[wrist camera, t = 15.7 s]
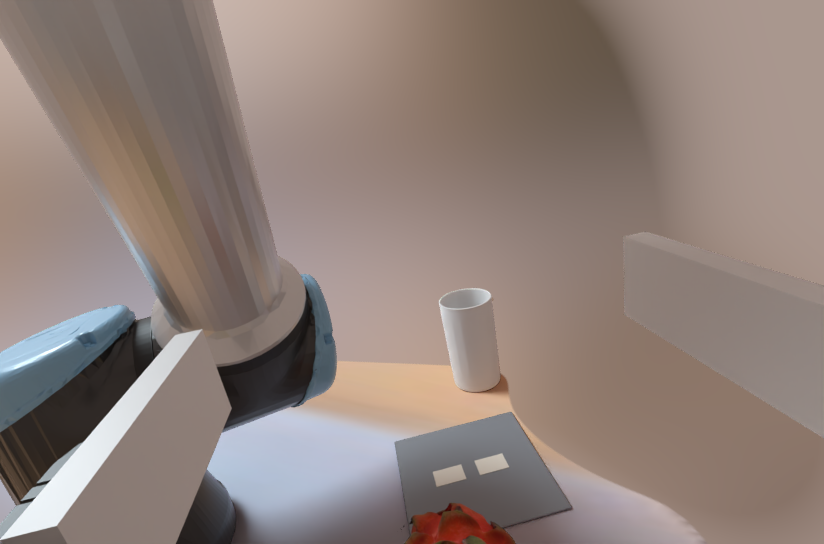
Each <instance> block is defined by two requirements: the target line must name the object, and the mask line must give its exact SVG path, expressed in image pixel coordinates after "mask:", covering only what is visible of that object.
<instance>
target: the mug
mask: <svg viewBox="0 0 824 544" xmlns="http://www.w3.org/2000/svg"><path fill="white" fill-rule="evenodd" d="M439 306H440V311H441V317H442V322H443V326H444V332H445V337H446V342H447V347H448V352H449V357H450V362H451V367H452V371H453V376H454V381H455V384H456V385H457V387H458V388H460V389H462V390H464V391H468V392H482V391H486V390H489V389H491V388H493V387H494V386H496V385H497V384H498V383H499V381H500V367H499V358H498V349H497V340H496V331H495V322H494V314H493V305H492V298H491V293H490V292H489V291H486V290H484V289H478V288H468V289H461V290H456V291H452V292H450V293H447V294H445V295H444V296H442V298H440V300H439Z"/></svg>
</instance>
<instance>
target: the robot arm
mask: <svg viewBox="0 0 824 544" xmlns="http://www.w3.org/2000/svg"><path fill="white" fill-rule="evenodd" d="M0 39H1V40H2V42H3V44H4V45H5V47H6V49H7V50H8V52H9V53H10V55H11V57H12V59H13V60H14V62H15V63H16V65H17V66H18V68H19V70H20V72H21V73H22V75H23V76H24V78H25V80H26V82H27V83H28V85H29V87H30V88H31V90H32V91H33V93H34V95H35V96H36V98H37V100H38V101H39V103H40V104H41V106H42V108H43V110H44V111H45V113H46V114H47V116H48V118H49V119H50V121H51V123H52V124H53V126H54V128H55V129H56V131H57V133H58V134H59V136H60V138H61V139H62V141H63V142H64V144H65V146H66V147H67V149H68V151H69V152H70V154H71V156H72V157H73V159H74V161H75V162H76V164H77V166H78V167H79V169H80V170H81V172H82V173H83V175H84V177H85V179H86V180H87V182H88V184H89V185H90V187H91V189H92V190H93V192H94V194H95V195H96V197H97V198H98V200H99V202H100V203H101V205H102V207H103V208H104V210H105V211H106V213H107V215H108V216H109V218H110V220H111V222H112V223H113V225H114V226H115V228H116V230H117V231H118V233H119V235H120V236H121V238H122V240H123V241H124V243H125V245H126V246H127V248H128V249H129V251H130V253H131V254H132V256H133V257H134V259H135V261H136V263H137V264H138V266H139V268H140V269H141V271H142V272H143V274H144V276H145V277H146V279H147V281H148V282H149V284H150V286H151V287H152V289H153V291H154V292H155V294H156V296H157V299H156V301H155V303H154V306H153V309H152V315H151V317H147V318H144V319H140V320H136V319H135V318H136V316H135V314H134V312H132V311H130V310H129V308H128V307H127V306H124V305H114V306H112V307H104V308H100V309H97V310H94V311H90V312H88V313H85V314H82V315H79V316H77V317H74V318H72V319H69V320H67V321H64V322H62V323H59V324H57V325H55V326H53V327H50V328H48V329H46V330H43V331H41V332H39V333H37V334H35V335H33V336H31V337H29V338H27V339H25V340H23V341H21V342H19V343H17V344H15V345H13V346H11V347H9V348H8V349H6V350H4V351H2V352H1V353H0V480H1V482H2V483H3V485H4V486H5V488H6V490H7V491H8V493H9V495H10V496H11V498H12V500H13V501H14V503H15V504H16V507H15V508H14V509H13V510H12V511H11V512H10V513H9V515H8V516H7V517H6V518H5V519H4V520H3V521H2V522H1V523H0V544H230V542H231V540H232V537H233V534H234V530H235V525H236V513H235V509H234V506H233V504H232V501H231V499H230V496H229V494H228V491H227V490H226V488H225V487H224V485H223V484H222V483H221V482H220V481H218V480H217V479H215V478H214V477H213V476H212V474H211V473H210V472H209V471H208V470H207V467H208V464H209V462H210V460H211V457H212V455H213V452H214V450H215V448H216V445H217V443H218V440H219V438H220V435H221V433H222V432H225V431H228V430H230V429H233V428H236V427H238V426H241V425H244V424H246V423H249V422H251V421H254V420H257V419H259V418H262V417H265V416H267V415H270V414H273V413H275V412H278V411H280V410H283V409H286V408H288V407H297V406H300V405H302V404H304V402H306V401H307V400H309V399H311V398H313V397H315V396H318V395H320V394H322V393H324V392H326V391H327V390H328V389H329V388H330V387H331V385H332V384H333V382H334V379H335V375H336V369H337V356H336V346H335V341H334V339H333V337H332V331H333V330H332V323H331V319H330V315H329V311H328V308H327V304H326V301H325V299H324V296H323V293H322V292H321V289H320V287H319V285H318V283H317V281H316V280H315V279H314V278H313V277H312V276H310V275H307V274H299V272H298V271H297V270H296V268H295V267H294V266H293V265H292V264H291V263H289V262H288V261H287V260H285V259H283V258H281V257H279V256H278V255H277V251H276V248H275V244H274V240H273V236H272V232H271V228H270V224H269V220H268V217H267V212H266V208H265V204H264V200H263V196H262V192H261V189H260V185H259V181H258V177H257V173H256V169H255V165H254V161H253V157H252V153H251V149H250V145H249V142H248V137H247V134H246V130H245V126H244V122H243V118H242V114H241V110H240V106H239V102H238V99H237V94H236V91H235V86H234V83H233V78H232V75H231V71H230V67H229V63H228V59H227V55H226V51H225V47H224V43H223V39H222V35H221V31H220V27H219V23H218V19H217V16H216V12H215V8H214V4H213V0H0ZM623 240H624V304H625V305H624V306H625V315H626V316H628V317H629V318H631V319H632V320H634V321H636V322H637V323H639V324H641V325H642V326H644V327H645V328H647V329H649V330H650V331H652V332H653V333H655V334H657V335H658V336H660V337H662V338H663V339H665V340H666V341H668V342H669V343H671V344H673V345H674V346H676V347H678V348H679V349H681V350H682V351H684V352H686V353H687V354H689V355H690V356H692V357H694V358H695V359H697V360H698V361H700V362H702V363H703V364H705V365H707V366H708V367H710V368H711V369H713V370H715V371H716V372H718V373H720V374H721V375H723V376H724V377H726V378H727V379H729V380H731V381H732V382H734V383H736V384H737V385H739V386H740V387H742V388H744V389H745V390H747V391H749V392H750V393H752V394H753V395H755V396H757V397H758V398H760V399H761V400H763V401H765V402H766V403H768V404H769V405H771V406H773V407H774V408H776V409H778V410H779V411H781V412H782V413H784V414H786V415H787V416H789V417H790V418H792V419H794V420H795V421H797V422H799V423H800V424H802V425H803V426H805V427H806V428H808V429H810V430H811V431H813V432H815V433H816V434H818V435H820V436H821V437H823V438H824V286H823V285H820V284H817V283H814V282H810V281H807V280H804V279H800V278H797V277H794V276H790V275H787V274H784V273H780V272H777V271H774V270H771V269H767V268H764V267H761V266H757V265H754V264H751V263H748V262H744V261H741V260H738V259H734V258H731V257H728V256H724V255H721V254H718V253H715V252H711V251H708V250H704V249H701V248H698V247H695V246H692V245H688V244H685V243H681V242H678V241H675V240H672V239H668V238H665V237H662V236H659V235H655V234H652V233H648V232H642V233H637V234H633V235H628V236H624V237H623Z"/></svg>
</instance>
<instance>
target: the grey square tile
mask: <svg viewBox="0 0 824 544" xmlns="http://www.w3.org/2000/svg"><path fill="white" fill-rule="evenodd" d="M395 448H396V454H397V460H398V466H399V471H400V477H401V483H402V489H403V495H404V501H405V507H406V513H407V519H408V524H409V523H410V522H411V518H412V516H413V515H423V514H425V513H427V512H434V513H437V512H439V511H442V510H445V509H446V508H447V507H448V505H449V503H459V504H463V505H465V506H466V507H468V508H470V509H472V510H473V511H475V512H477V513H479V514H481V515H482V516H483V517H484V518H485V519H486V521H487V523H488V524H491V523H490V521H492V522H495V523H496V524H498V525H499V526H500V527H501V528H505V527H508V526H512V525H515V524H519V523H522V522H526V521H529V520H533V519H536V518H540V517H543V516H547V515H550V514H554V513H557V512H561V511H564V510H568V509H571V508H572V507H571V505H570V504H569V502H568V501H567V499H566V498H565V496H564V494H563V493H562V491H561V490H560V488H559V487H558V485H557V483H556V482H555V480H554V479H553V477H552V475H551V474H550V472H549V471H548V469H547V468H546V466H545V464H544V463H543V461H542V460H541V458H540V457H539V455H538V453H537V452H536V450H535V449H534V447H533V446H532V444H531V442H530V441H529V439H528V438H527V436H526V435H525V433H524V431H523V430H522V428H521V427H520V425H519V423H518V422H517V420H516V419H515V417H514V416H513V414H512V412H508V413H504V414H500V415H497V416H493V417H489V418H485V419H481V420H477V421H473V422H470V423H466V424H462V425H458V426H454V427H450V428H446V429H443V430H439V431H435V432H431V433H427V434H423V435H419V436H416V437H412V438H408V439H404V440H400V441H396V442H395ZM412 526H413V524H409V530H410V536H411V531H412Z"/></svg>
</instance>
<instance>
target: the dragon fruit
mask: <svg viewBox="0 0 824 544" xmlns="http://www.w3.org/2000/svg"><path fill="white" fill-rule="evenodd" d="M490 523H491V524H488V523H487V521H486V519H485V518H484V517H483V516H482V515H481V514H479V513H477V512H475V511H473V510H472V509H470V508H468V507H466V506H465V505H463V504H459V503H449V505H448V507H447V508H446V509H445V510H442V511H439V512H437V513H434V512H427V513H425V514H423V515H413V516H412V518H411V522H410V523H409V524H413V526H412V531H411V536H410V537H409V538H408V540H407V541H406V542H405V543H404V544H516V543H515V541H514V540H513V539H512V537H511V536H510V535H509V534H508V533H507V532H506V531H505V530H504V529H502V528H501V527H500V526H499V525H498V524H496V523H495V522H492V521H490ZM403 527H404V526H403ZM400 529H401V528H400ZM401 530H402V529H401ZM397 532H398V531H397Z"/></svg>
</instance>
